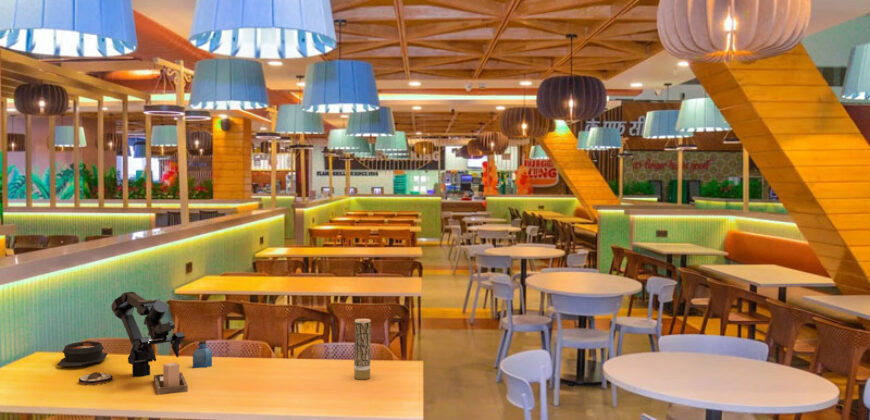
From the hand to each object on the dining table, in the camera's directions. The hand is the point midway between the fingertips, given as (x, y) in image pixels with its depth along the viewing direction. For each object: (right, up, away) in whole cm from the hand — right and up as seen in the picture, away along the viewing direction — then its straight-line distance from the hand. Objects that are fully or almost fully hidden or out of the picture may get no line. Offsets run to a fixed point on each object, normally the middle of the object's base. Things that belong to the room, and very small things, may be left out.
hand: (166, 358), depth 283 cm
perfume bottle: (+3, -11, +34) cm, 36 cm away
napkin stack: (-2, -11, +7) cm, 13 cm away
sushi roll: (-33, -12, +10) cm, 37 cm away
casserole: (-53, -11, +39) cm, 67 cm away
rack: (+1, -12, +2) cm, 12 cm away
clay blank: (+3, -12, -2) cm, 12 cm away
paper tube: (+76, -13, +20) cm, 80 cm away
